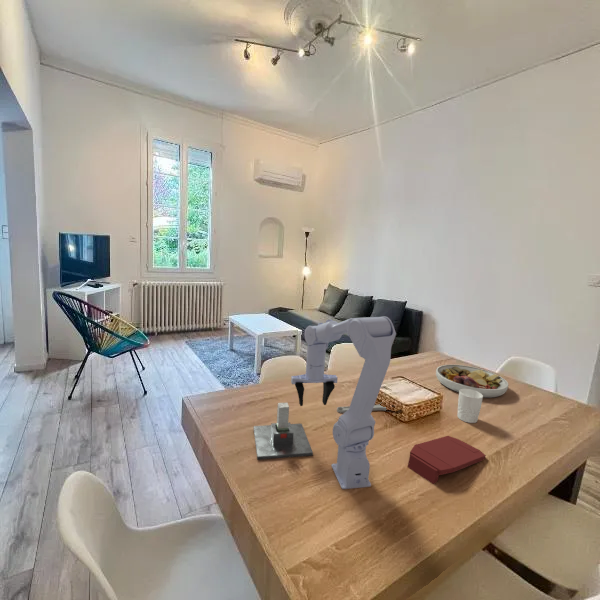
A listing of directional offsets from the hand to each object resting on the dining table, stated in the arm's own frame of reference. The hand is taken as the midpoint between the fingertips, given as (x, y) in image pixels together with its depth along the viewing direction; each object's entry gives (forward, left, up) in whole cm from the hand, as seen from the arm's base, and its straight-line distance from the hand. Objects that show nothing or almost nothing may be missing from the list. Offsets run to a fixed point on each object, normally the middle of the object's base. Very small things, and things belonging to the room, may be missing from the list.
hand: (312, 404), depth 107 cm
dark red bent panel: (-18, -37, -11) cm, 42 cm away
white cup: (+4, -61, -11) cm, 62 cm away
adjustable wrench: (+15, -26, -11) cm, 32 cm away
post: (-3, +10, -6) cm, 12 cm away
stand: (-3, +10, -10) cm, 15 cm away
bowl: (+32, -84, -11) cm, 91 cm away
